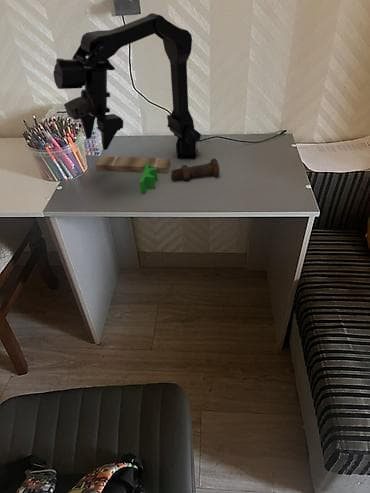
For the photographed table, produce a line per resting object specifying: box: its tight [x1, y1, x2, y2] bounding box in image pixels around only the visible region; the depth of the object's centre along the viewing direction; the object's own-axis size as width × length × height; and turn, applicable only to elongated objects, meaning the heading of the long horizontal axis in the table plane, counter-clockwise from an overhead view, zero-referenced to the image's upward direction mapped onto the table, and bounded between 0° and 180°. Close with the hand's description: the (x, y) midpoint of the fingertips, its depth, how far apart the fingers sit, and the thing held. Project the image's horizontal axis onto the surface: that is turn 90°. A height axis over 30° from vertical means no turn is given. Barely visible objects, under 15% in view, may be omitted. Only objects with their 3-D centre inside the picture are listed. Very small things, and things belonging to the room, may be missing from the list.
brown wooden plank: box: [95, 155, 171, 174], centre depth 126 cm, size 24×6×2 cm, turn 82°
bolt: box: [170, 157, 220, 181], centre depth 120 cm, size 6×5×15 cm
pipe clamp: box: [139, 163, 158, 195], centre depth 118 cm, size 11×4×5 cm, turn 173°
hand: (96, 144), depth 109 cm, fingers open, 9 cm apart
